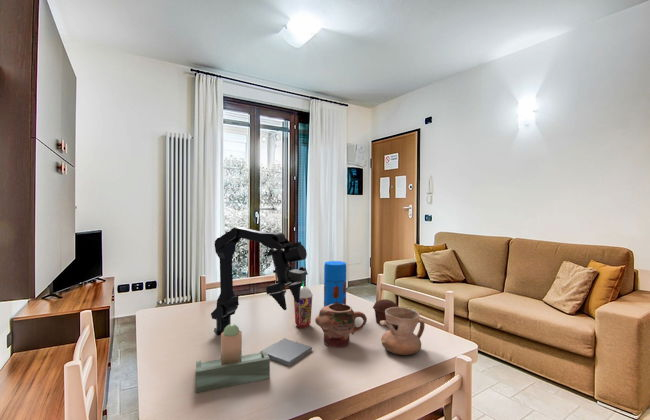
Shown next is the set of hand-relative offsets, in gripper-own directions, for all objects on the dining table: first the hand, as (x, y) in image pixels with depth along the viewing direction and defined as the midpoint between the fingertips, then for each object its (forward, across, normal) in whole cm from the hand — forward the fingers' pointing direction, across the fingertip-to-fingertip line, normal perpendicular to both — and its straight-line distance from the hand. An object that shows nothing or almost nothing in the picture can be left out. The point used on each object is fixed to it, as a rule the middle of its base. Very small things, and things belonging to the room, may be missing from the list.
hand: (291, 306), depth 117 cm
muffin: (+22, +40, -20) cm, 50 cm away
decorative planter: (+19, +12, -10) cm, 25 cm away
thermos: (+15, +40, +4) cm, 43 cm away
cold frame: (+13, -24, +12) cm, 29 cm away
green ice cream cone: (+10, -22, +12) cm, 28 cm away
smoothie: (+13, +20, +11) cm, 26 cm away
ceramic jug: (+26, +17, -32) cm, 44 cm away
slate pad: (+15, -5, +4) cm, 16 cm away
